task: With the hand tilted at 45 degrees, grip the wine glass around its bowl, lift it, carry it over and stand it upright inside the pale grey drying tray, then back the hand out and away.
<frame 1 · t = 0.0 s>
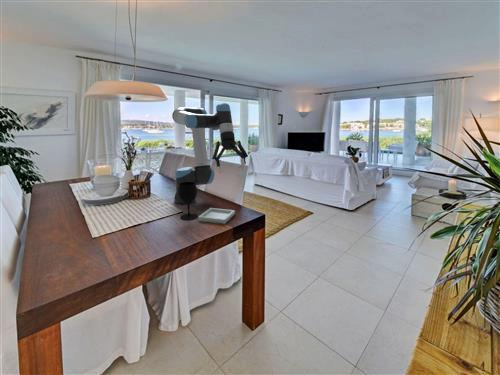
hand: (232, 171, 133), 28 cm above the table, tool tilted 20°, fingers open, 13 cm apart
wine glass: (189, 217, 144), on the table
drying tray: (217, 217, 144), on the table
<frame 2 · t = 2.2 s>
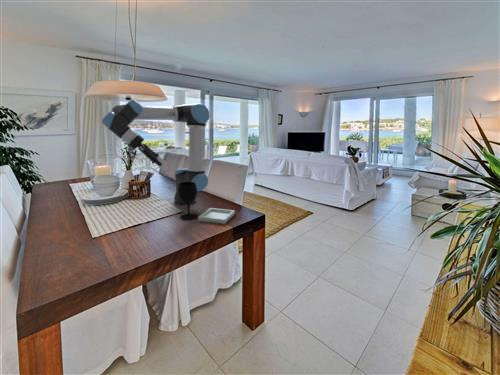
hand: (166, 167, 134), 30 cm above the table, tool tilted 45°, fingers open, 13 cm apart
nothing on the table moved.
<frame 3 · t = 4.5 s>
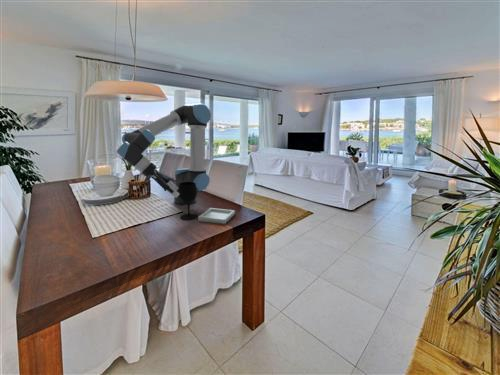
hand: (177, 192, 138), 15 cm above the table, tool tilted 45°, fingers open, 13 cm apart
nothing on the table moved.
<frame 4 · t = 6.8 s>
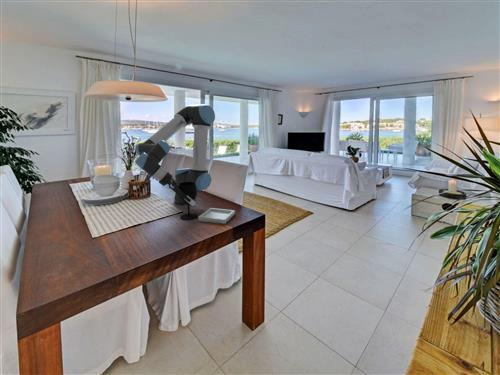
hand: (193, 201, 143), 9 cm above the table, tool tilted 45°, fingers closed on wine glass, 10 cm apart
wine glass: (189, 217, 144), on the table, touching gripper
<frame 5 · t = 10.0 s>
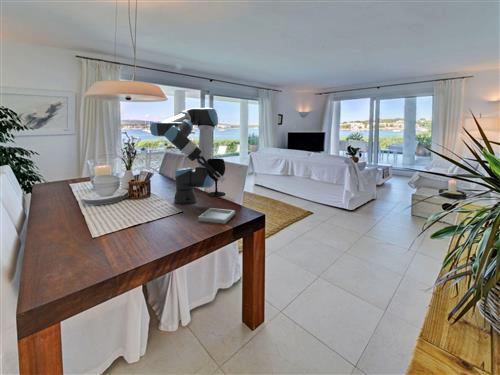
hand: (221, 178, 139), 23 cm above the table, tool tilted 45°, fingers closed on wine glass, 10 cm apart
wine glass: (216, 195, 140), point 14 cm above the table, touching gripper
when the fingers open (11 cm above the table, at t = 13.1 s): wine glass drops 1 cm, resting on drying tray.
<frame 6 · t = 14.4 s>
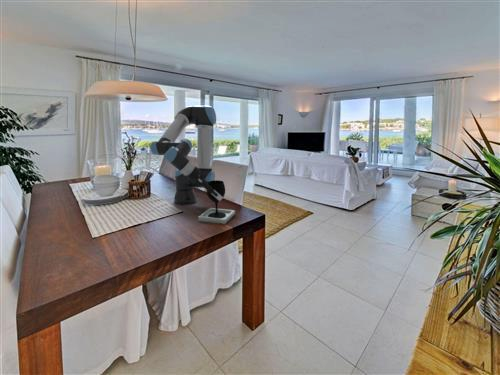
hand: (218, 195, 141), 13 cm above the table, tool tilted 45°, fingers open, 13 cm apart
wine glass: (216, 216, 143), point 1 cm above the table, touching drying tray
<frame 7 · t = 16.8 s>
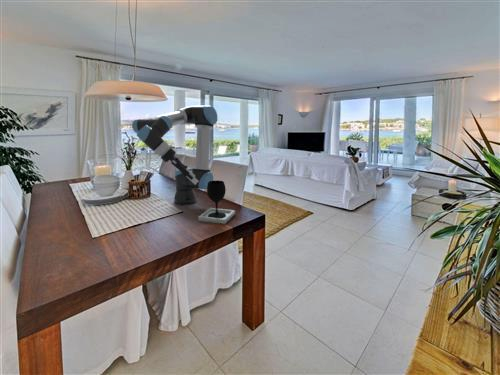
hand: (195, 180, 135), 23 cm above the table, tool tilted 45°, fingers open, 13 cm apart
nothing on the table moved.
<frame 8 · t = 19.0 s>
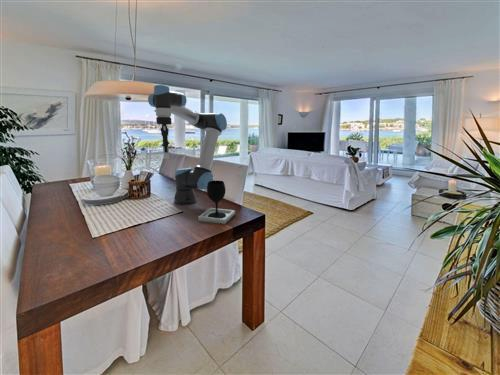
hand: (166, 157, 136), 35 cm above the table, tool pointing down, fingers open, 13 cm apart
nothing on the table moved.
at the end: wine glass inside the target area on the drying tray (0.2 cm from its centre), point 0.8 cm above the drying tray's base; wine glass tilted 0°; the gripper is holding nothing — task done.
